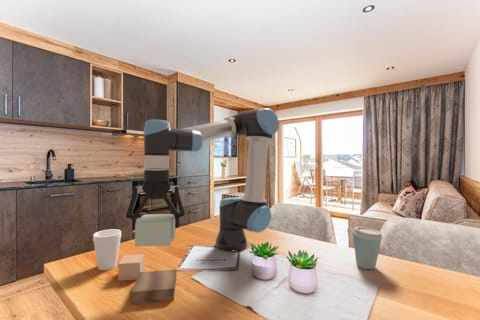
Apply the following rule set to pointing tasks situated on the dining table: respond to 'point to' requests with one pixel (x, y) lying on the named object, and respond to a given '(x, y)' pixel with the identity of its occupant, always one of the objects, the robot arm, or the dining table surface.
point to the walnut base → (154, 287)
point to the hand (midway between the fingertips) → (156, 238)
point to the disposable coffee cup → (366, 246)
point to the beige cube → (130, 267)
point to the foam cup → (107, 248)
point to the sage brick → (154, 230)
